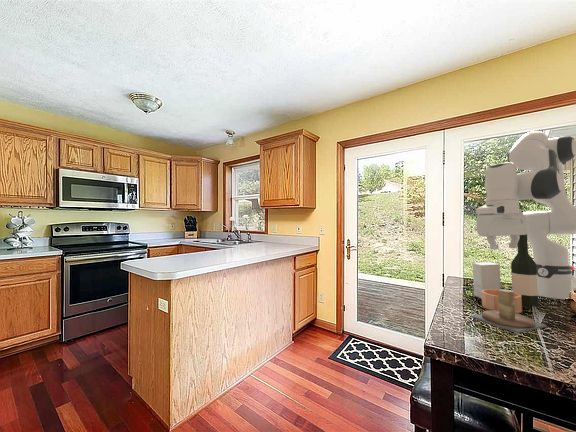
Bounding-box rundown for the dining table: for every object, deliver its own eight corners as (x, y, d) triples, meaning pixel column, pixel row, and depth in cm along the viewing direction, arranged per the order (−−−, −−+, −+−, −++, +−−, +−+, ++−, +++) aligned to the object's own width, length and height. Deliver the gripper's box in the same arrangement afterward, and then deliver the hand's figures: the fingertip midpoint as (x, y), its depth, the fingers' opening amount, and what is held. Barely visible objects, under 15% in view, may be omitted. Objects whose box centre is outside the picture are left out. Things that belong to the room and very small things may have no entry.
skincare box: (492, 295, 117) (490, 262, 118) (502, 300, 111) (501, 264, 111) (473, 295, 118) (471, 262, 118) (482, 299, 111) (480, 264, 112)
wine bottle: (517, 305, 103) (513, 232, 104) (508, 299, 111) (505, 231, 112) (544, 307, 100) (540, 231, 101) (533, 301, 108) (529, 231, 109)
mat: (499, 312, 95) (499, 311, 95) (546, 326, 82) (546, 324, 82) (472, 317, 91) (471, 315, 91) (517, 333, 78) (517, 331, 78)
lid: (499, 311, 95) (498, 284, 95) (545, 324, 82) (543, 293, 82) (473, 315, 91) (471, 287, 91) (517, 330, 78) (515, 298, 78)
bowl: (495, 302, 107) (494, 288, 108) (529, 311, 96) (529, 295, 96) (475, 305, 104) (474, 290, 104) (508, 315, 92) (507, 298, 92)
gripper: (512, 209, 94) (513, 246, 93) (471, 209, 88) (473, 249, 87) (532, 208, 88) (534, 248, 87) (491, 208, 82) (493, 251, 81)
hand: (503, 248), depth 87 cm, fingers open, 8 cm apart
